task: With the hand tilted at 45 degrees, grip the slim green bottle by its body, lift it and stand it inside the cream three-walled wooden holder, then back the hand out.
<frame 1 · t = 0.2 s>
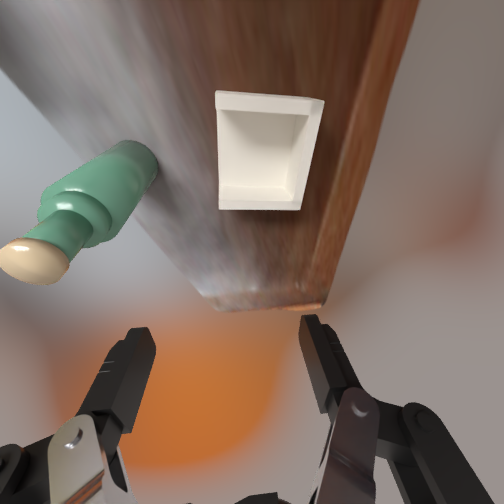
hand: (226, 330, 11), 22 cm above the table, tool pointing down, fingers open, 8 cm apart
green bottle: (135, 163, 26), on the table
holder: (254, 149, 27), on the table
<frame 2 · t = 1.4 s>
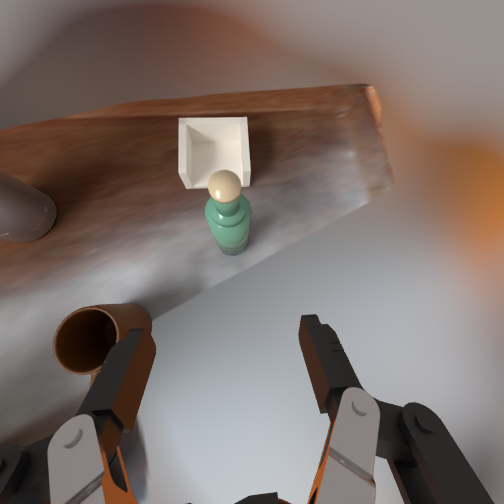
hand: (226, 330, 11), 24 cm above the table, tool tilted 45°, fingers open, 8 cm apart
green bottle: (232, 240, 37), on the table
mug: (131, 342, 33), on the table
holder: (217, 165, 40), on the table
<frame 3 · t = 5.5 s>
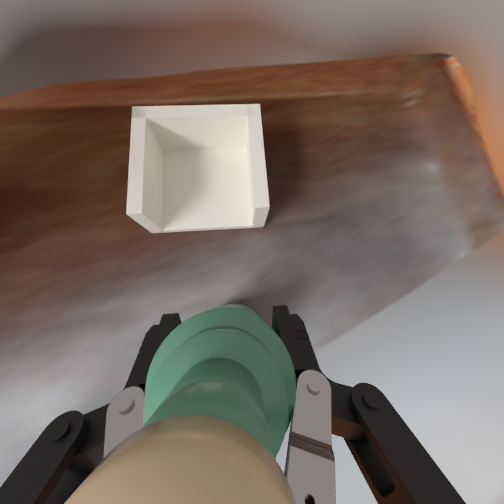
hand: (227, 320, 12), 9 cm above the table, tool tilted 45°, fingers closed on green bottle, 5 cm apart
green bottle: (234, 331, 20), on the table, touching gripper
holder: (207, 190, 23), on the table
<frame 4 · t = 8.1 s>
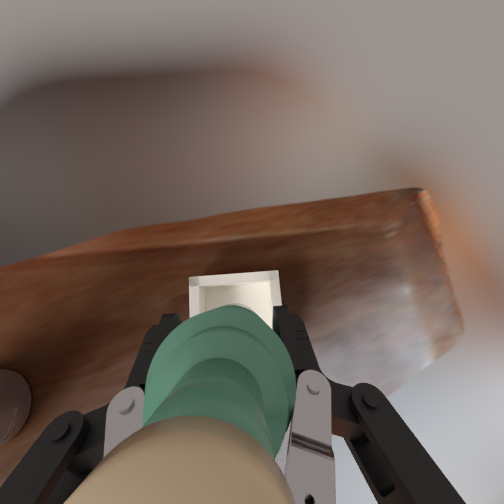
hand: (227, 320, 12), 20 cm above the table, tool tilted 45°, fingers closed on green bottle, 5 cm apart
green bottle: (234, 331, 20), point 11 cm above the table, touching gripper
holder: (238, 316, 31), on the table
when the fingers open (10 cm above the table, at t = 11.0 s): green bottle stays where it is, resting on holder.
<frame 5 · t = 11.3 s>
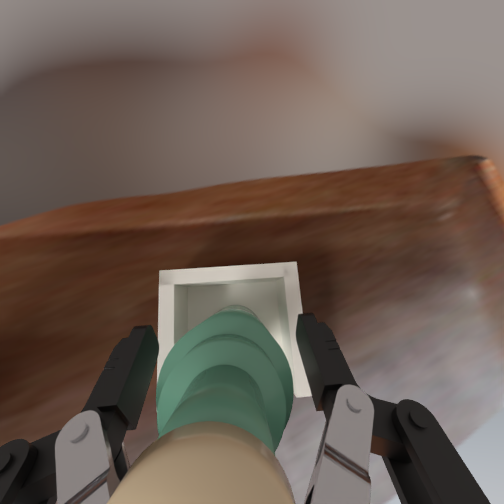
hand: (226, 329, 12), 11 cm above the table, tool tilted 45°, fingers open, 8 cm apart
green bottle: (235, 332, 21), point 1 cm above the table, touching holder
holder: (234, 329, 22), on the table
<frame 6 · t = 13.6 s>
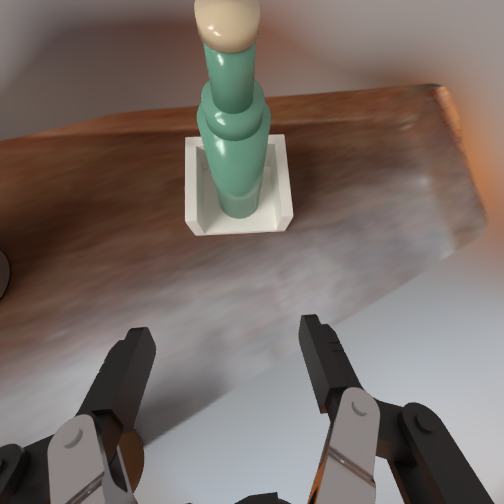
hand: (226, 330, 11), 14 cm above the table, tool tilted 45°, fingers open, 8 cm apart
green bottle: (239, 199, 28), point 1 cm above the table, touching holder
mug: (113, 484, 21), on the table
holder: (238, 200, 28), on the table
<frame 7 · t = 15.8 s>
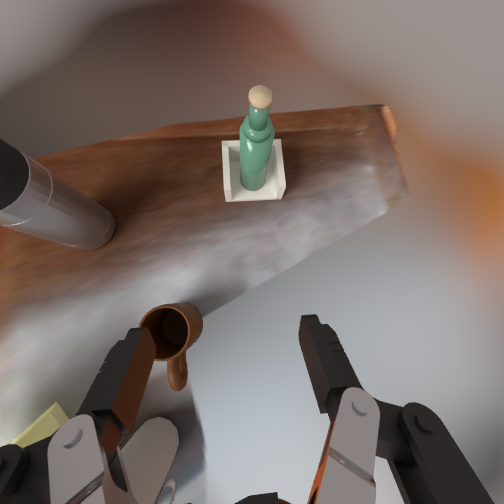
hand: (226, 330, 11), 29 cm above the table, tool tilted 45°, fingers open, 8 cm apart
water bottle: (163, 442, 35), on the table
green bottle: (252, 179, 44), point 1 cm above the table, touching holder
slatted curved stool: (36, 476, 33), on the table
mug: (185, 337, 38), on the table
holder: (252, 180, 45), on the table
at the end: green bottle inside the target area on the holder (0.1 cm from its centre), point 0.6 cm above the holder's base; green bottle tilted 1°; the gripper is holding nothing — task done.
